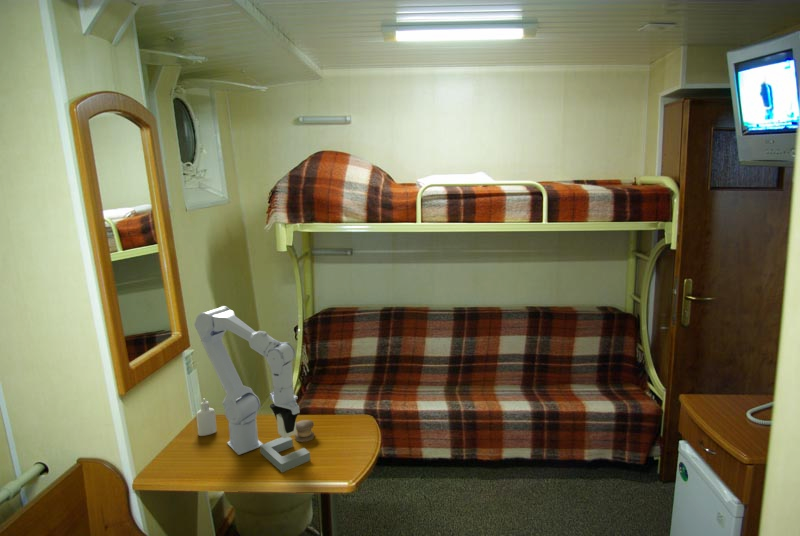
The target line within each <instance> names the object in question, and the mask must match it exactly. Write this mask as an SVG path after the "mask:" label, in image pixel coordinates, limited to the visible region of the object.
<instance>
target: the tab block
mask: <svg viewBox="0 0 800 536" xmlns="http://www.w3.org/2000/svg"><path fill="white" fill-rule="evenodd" d="M276 415H277V420H276V427H277V434H278V435H279V436H280V437H283V438H287V437H291V436H295V435H296V434H297V430H296V422H297V420H296V421H295V426H294V431H292V432H290V433H286V430H285V426H284V421H283V419H282V416H281V415H280V413H279V414H276Z"/></svg>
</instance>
